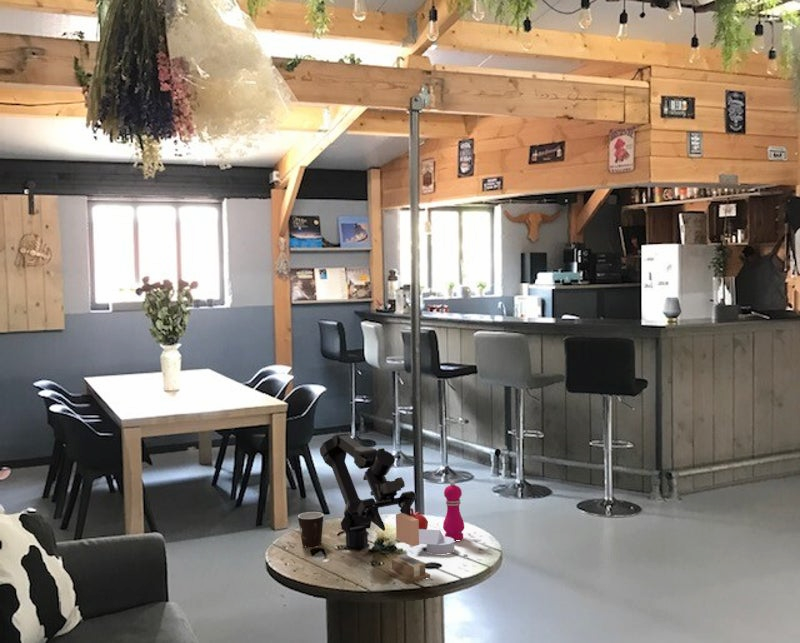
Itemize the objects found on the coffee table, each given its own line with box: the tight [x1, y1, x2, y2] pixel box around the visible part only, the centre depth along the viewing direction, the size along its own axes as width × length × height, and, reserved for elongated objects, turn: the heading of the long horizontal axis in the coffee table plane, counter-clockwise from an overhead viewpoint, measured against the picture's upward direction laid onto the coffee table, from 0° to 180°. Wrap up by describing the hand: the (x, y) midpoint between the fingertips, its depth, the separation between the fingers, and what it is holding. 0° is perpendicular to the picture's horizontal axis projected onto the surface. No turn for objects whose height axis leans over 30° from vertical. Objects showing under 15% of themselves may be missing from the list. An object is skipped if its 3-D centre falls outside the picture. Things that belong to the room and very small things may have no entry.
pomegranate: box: [410, 507, 429, 530], centre depth 285 cm, size 10×10×9 cm
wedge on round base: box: [419, 529, 455, 555], centre depth 268 cm, size 9×7×13 cm
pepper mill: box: [442, 480, 465, 541], centre depth 278 cm, size 7×7×20 cm
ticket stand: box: [387, 553, 431, 585], centre depth 244 cm, size 11×8×5 cm
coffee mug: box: [297, 511, 324, 548], centre depth 276 cm, size 12×9×10 cm
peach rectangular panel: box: [395, 512, 420, 547], centre depth 244 cm, size 9×2×8 cm, turn 31°
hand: (397, 527), depth 249 cm, fingers open, 9 cm apart
